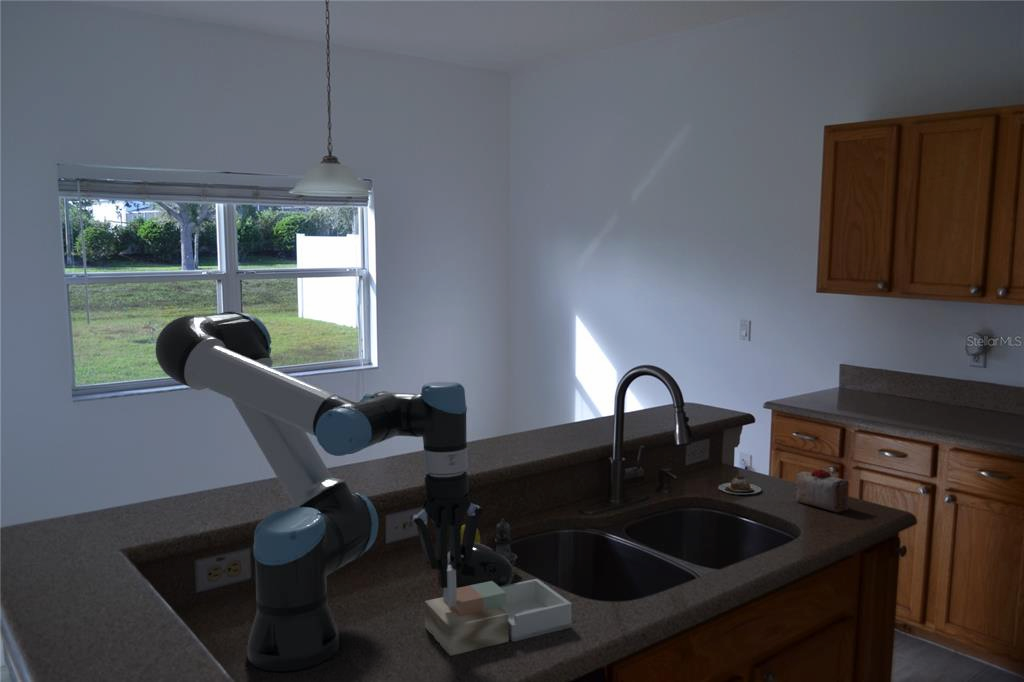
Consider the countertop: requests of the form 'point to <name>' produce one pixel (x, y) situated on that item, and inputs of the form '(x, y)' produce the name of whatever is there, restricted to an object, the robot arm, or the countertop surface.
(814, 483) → the food item
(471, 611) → the terracotta tile
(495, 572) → the glossy black oval shape
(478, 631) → the cream tray box
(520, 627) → the grey bin
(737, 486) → the pastry
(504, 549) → the dark grey figurine
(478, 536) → the lemon
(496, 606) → the sage tile
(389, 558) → the countertop surface
